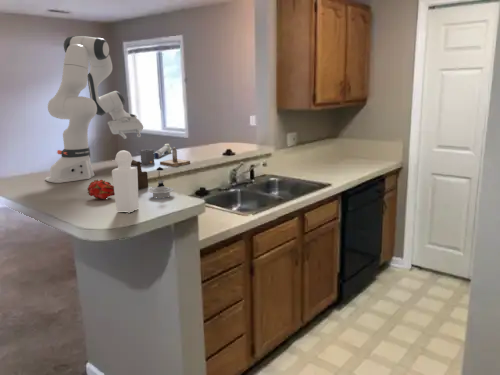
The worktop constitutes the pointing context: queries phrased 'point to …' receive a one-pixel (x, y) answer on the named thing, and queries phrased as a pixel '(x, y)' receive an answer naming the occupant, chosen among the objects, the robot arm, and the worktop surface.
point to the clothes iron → (140, 175)
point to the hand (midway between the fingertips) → (132, 137)
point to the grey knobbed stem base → (161, 188)
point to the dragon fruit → (100, 189)
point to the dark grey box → (147, 157)
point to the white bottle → (125, 182)
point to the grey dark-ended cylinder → (162, 151)
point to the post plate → (179, 162)
